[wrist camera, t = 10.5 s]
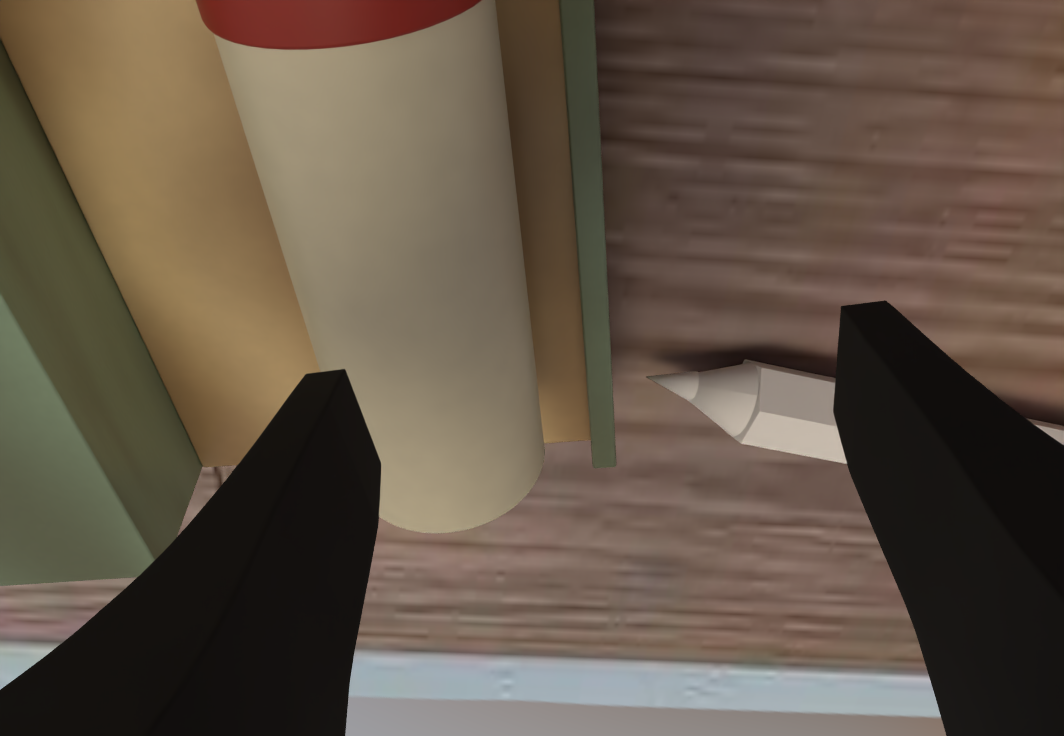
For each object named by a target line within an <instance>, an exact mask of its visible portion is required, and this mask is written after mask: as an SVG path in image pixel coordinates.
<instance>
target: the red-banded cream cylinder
mask: <svg viewBox="0 0 1064 736" xmlns="http://www.w3.org/2000/svg"><path fill="white" fill-rule="evenodd" d="M196 3H197V6H198V9H199V12H200V15H201V19H202V20H203V22H204V24H205V25H206V27H207V28H208V29H209V30H210V31H211V32H213V34H214V37H215V40H216V43H217V46H218V50H219V53H220V56H221V59H222V62H223V65H224V69H225V72H226V75H227V78H228V81H229V84H230V88H231V91H232V94H233V97H234V100H235V103H236V107H237V110H238V113H239V116H240V119H241V122H242V125H243V129H244V132H245V135H246V138H247V141H248V144H249V148H250V151H251V154H252V157H253V160H254V163H255V167H256V170H257V173H258V176H259V179H260V182H261V186H262V189H263V192H264V195H265V198H266V201H267V205H268V208H269V211H270V214H271V217H272V220H273V224H274V227H275V230H276V233H277V236H278V239H279V243H280V246H281V249H282V252H283V255H284V258H285V261H286V265H287V268H288V271H289V274H290V277H291V280H292V284H293V287H294V290H295V293H296V296H297V299H298V303H299V306H300V309H301V312H302V315H303V318H304V322H305V325H306V328H307V331H308V334H309V337H310V341H311V344H312V347H313V350H314V353H315V356H316V360H317V363H318V366H319V369H320V372H324V371H332V370H340V369H345V370H346V372H347V375H348V377H349V380H350V383H351V385H352V388H353V391H354V393H355V396H356V398H357V401H358V404H359V406H360V409H361V412H362V414H363V417H364V419H365V422H366V425H367V427H368V430H369V432H370V435H371V438H372V440H373V443H374V446H375V448H376V451H377V453H378V456H379V459H380V461H381V487H380V506H379V517H381V518H382V519H384V520H385V521H387V522H389V523H391V524H393V525H395V526H398V527H401V528H403V529H407V530H411V531H415V532H423V533H450V532H458V531H463V530H468V529H471V528H474V527H478V526H481V525H483V524H486V523H488V522H490V521H493V520H495V519H496V518H498V517H500V516H502V515H504V514H505V513H507V512H508V511H509V510H511V509H512V508H514V507H515V506H516V505H517V504H518V503H519V502H520V501H522V500H523V499H524V497H525V496H526V495H527V494H528V493H529V492H530V491H531V489H532V487H533V486H534V484H535V483H536V481H537V479H538V477H539V475H540V473H541V470H542V466H543V463H544V455H545V449H544V438H543V429H542V420H541V411H540V402H539V393H538V384H537V375H536V366H535V357H534V348H533V339H532V330H531V320H530V311H529V302H528V293H527V284H526V275H525V266H524V257H523V248H522V239H521V230H520V221H519V212H518V203H517V194H516V185H515V175H514V166H513V157H512V148H511V139H510V130H509V121H508V112H507V103H506V94H505V85H504V76H503V67H502V58H501V49H500V40H499V30H498V21H497V12H496V3H495V0H196Z"/></svg>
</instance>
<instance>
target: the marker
mask: <svg viewBox="0 0 1064 736" xmlns="http://www.w3.org/2000/svg"><path fill="white" fill-rule="evenodd" d="M647 378H649V379H651V380H652V381H654V382H656V383H658V384H660V385H661V386H663V387H665V388H667V389H668V390H670V391H672V392H674V393H675V394H677V395H679V396H681V397H683V398H684V399H686V400H688V401H689V402H691V403H692V404H693V405H694V406H695V407H697V408H698V409H699V410H700V411H702V412H703V413H704V414H705V415H707V416H708V417H709V418H710V419H711V420H713V421H714V422H715V423H716V424H718V425H719V426H720V427H721V428H722V429H724V430H725V432H727V433H728V434H729V435H730V436H732V437H733V438H734V439H736V440H737V441H738V442H740V443H741V444H746V445H752V446H757V447H762V448H767V449H772V450H778V451H783V452H788V453H793V454H798V455H804V456H809V457H814V458H819V459H824V460H830V461H835V462H840V463H845V464H847V461H846V458H845V454H844V451H843V447H842V444H841V440H840V436H839V432H838V429H837V425H836V421H835V417H834V413H833V405H834V393H835V380H836V378H832V377H828V376H823V375H818V374H813V373H808V372H804V371H799V370H794V369H789V368H785V367H780V366H775V365H770V364H765V363H761V362H756V361H751V360H746V359H745V360H744V361H743V363H742V364H741V365H735V366H730V367H725V368H719V369H714V370H709V371H703V372H697V371H692V372H683V373H674V374H665V375H656V376H647ZM1026 419H1027V420H1029V421H1030V422H1032V423H1033V424H1034V425H1036V426H1037V427H1038V428H1040V429H1041V430H1043V431H1044V432H1045V433H1047V434H1048V435H1050V436H1051V437H1052V438H1054V439H1055V440H1057V441H1058V442H1060V443H1061V444H1063V445H1064V426H1062V425H1057V424H1052V423H1047V422H1042V421H1038V420H1033V419H1028V418H1026Z"/></svg>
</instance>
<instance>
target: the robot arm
mask: <svg viewBox="0 0 1064 736" xmlns="http://www.w3.org/2000/svg"><path fill="white" fill-rule="evenodd" d="M833 413H834V417H835V421H836V425H837V429H838V432H839V436H840V440H841V444H842V447H843V451H844V454H845V458H846V461H847V465H848V468H849V472H850V474H851V477H852V479H853V482H854V484H855V487H856V489H857V492H858V494H859V496H860V499H861V501H862V503H863V506H864V508H865V511H866V513H867V515H868V518H869V520H870V522H871V525H872V527H873V529H874V532H875V534H876V537H877V539H878V541H879V544H880V546H881V548H882V551H883V553H884V555H885V558H886V560H887V562H888V565H889V567H890V569H891V572H892V574H893V576H894V579H895V581H896V583H897V586H898V588H899V590H900V593H901V595H902V597H903V600H904V602H905V605H906V607H907V610H908V613H909V615H910V618H911V621H912V623H913V626H914V629H915V631H916V634H917V638H918V641H919V644H920V648H921V651H922V654H923V657H924V661H925V664H926V667H927V670H928V674H929V677H930V680H931V684H932V687H933V690H934V693H935V697H936V700H937V704H938V707H939V711H940V714H941V718H942V721H943V724H944V728H945V732H946V735H947V736H1064V445H1063V444H1061V443H1060V442H1058V441H1057V440H1055V439H1054V438H1052V437H1051V436H1050V435H1048V434H1047V433H1045V432H1044V431H1043V430H1041V429H1040V428H1038V427H1037V426H1036V425H1034V424H1033V423H1032V422H1030V421H1029V420H1027V419H1026V418H1025V417H1023V416H1022V415H1020V414H1019V413H1018V412H1016V411H1015V410H1014V409H1012V408H1011V407H1010V406H1009V405H1007V404H1006V403H1005V402H1003V401H1002V400H1001V399H1000V398H998V397H997V396H996V395H995V394H993V393H992V392H991V391H990V390H988V389H987V388H986V387H985V386H984V385H982V384H981V383H980V382H979V381H977V380H976V379H975V378H974V377H973V376H971V375H970V374H969V373H968V372H966V371H965V370H964V369H963V368H962V367H961V366H959V365H958V364H957V363H956V362H955V361H954V360H952V359H951V358H950V357H949V356H948V355H947V354H946V353H944V352H943V351H942V350H941V349H940V348H939V347H938V346H936V345H935V344H934V343H933V342H932V341H931V340H930V339H929V338H927V337H926V336H925V335H924V334H923V333H922V332H921V331H920V330H919V329H917V328H916V327H915V326H914V325H913V324H912V323H911V322H910V321H909V320H907V319H906V318H905V317H904V316H903V315H902V314H901V313H900V312H899V311H897V310H896V309H895V308H894V307H893V306H892V305H890V304H889V303H888V302H887V301H878V302H870V303H863V304H855V305H847V306H841V315H840V328H839V341H838V354H837V367H836V380H835V393H834V405H833ZM380 487H381V461H380V459H379V456H378V453H377V451H376V448H375V446H374V443H373V440H372V438H371V435H370V432H369V430H368V427H367V425H366V422H365V419H364V417H363V414H362V412H361V409H360V406H359V404H358V401H357V398H356V396H355V393H354V391H353V388H352V385H351V383H350V380H349V377H348V375H347V372H346V370H345V369H340V370H332V371H324V372H316V373H308V374H305V376H304V377H303V378H302V379H301V381H300V382H299V383H298V385H297V386H296V387H295V389H294V390H293V391H292V393H291V394H290V395H289V397H288V398H287V399H286V401H285V402H284V404H283V405H282V406H281V408H280V409H279V410H278V412H277V413H276V414H275V416H274V417H273V419H272V420H271V421H270V423H269V424H268V425H267V427H266V428H265V430H264V431H263V432H262V434H261V435H260V436H259V438H258V439H257V440H256V442H255V443H254V444H253V446H252V447H251V448H250V450H249V451H248V452H247V454H246V455H245V456H244V457H243V459H242V460H241V461H240V463H239V464H238V465H237V467H236V468H235V469H234V471H233V472H232V473H231V474H230V476H229V477H228V478H227V480H226V481H225V482H224V483H223V484H222V486H221V487H220V488H219V489H218V490H217V492H216V493H215V494H214V495H213V496H212V498H211V499H210V500H209V501H208V502H207V503H206V505H205V506H204V507H203V508H202V509H201V511H200V512H199V513H198V514H197V515H196V517H195V518H194V519H193V520H192V521H191V522H190V524H189V525H188V526H187V527H186V528H185V529H184V530H183V531H182V532H181V534H180V535H179V536H178V537H177V538H176V539H175V540H174V541H173V542H172V543H171V544H170V545H169V546H168V547H167V548H166V549H165V551H164V552H163V553H162V554H161V555H160V556H159V557H158V558H157V559H155V560H154V561H153V562H152V563H151V564H150V565H149V566H148V567H147V568H146V569H145V570H144V571H143V572H142V573H141V574H140V575H139V576H138V577H137V578H136V579H135V580H134V581H133V582H132V583H131V584H130V585H129V586H128V587H127V588H126V589H124V590H123V591H122V592H121V593H120V594H119V595H118V596H116V597H115V598H114V599H113V600H112V601H111V602H110V603H108V604H107V605H106V606H105V607H104V608H103V609H102V610H100V611H99V612H98V613H97V614H96V615H95V616H94V617H93V618H91V619H90V620H89V621H88V622H87V623H86V624H85V625H83V626H82V627H81V628H80V629H79V630H78V631H76V632H75V633H74V634H73V635H72V636H70V637H69V638H68V639H67V640H65V641H64V642H63V643H62V644H60V645H59V646H58V647H57V648H55V649H54V650H53V651H51V652H50V653H49V654H48V655H46V656H45V657H44V658H43V659H41V660H40V661H39V662H37V663H36V664H35V665H33V666H32V667H31V668H29V669H28V670H27V671H25V672H24V673H23V674H21V675H20V676H18V677H17V678H16V679H14V680H13V681H12V682H10V683H9V684H8V685H6V686H5V687H3V688H2V689H1V690H0V736H345V730H346V718H347V706H348V694H349V683H350V676H351V670H352V663H353V656H354V651H355V645H356V640H357V635H358V630H359V625H360V619H361V614H362V609H363V604H364V599H365V593H366V588H367V583H368V578H369V573H370V567H371V562H372V557H373V551H374V546H375V540H376V535H377V529H378V521H379V506H380Z"/></svg>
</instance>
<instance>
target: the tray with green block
mask: <svg viewBox="0 0 1064 736" xmlns="http://www.w3.org/2000/svg"><path fill="white" fill-rule="evenodd" d="M495 3H496V12H497V21H498V30H499V40H500V49H501V58H502V67H503V76H504V85H505V94H506V103H507V112H508V121H509V130H510V139H511V148H512V157H513V166H514V175H515V185H516V194H517V203H518V212H519V221H520V230H521V239H522V248H523V257H524V266H525V275H526V284H527V293H528V302H529V311H530V320H531V330H532V339H533V348H534V357H535V366H536V375H537V384H538V393H539V402H540V411H541V420H542V429H543V438H544V443H556V442H570V441H584V440H591V451H592V464H593V467H594V468H607V467H615V466H616V446H615V425H614V404H613V384H612V363H611V342H610V321H609V301H608V280H607V259H606V238H605V218H604V197H603V176H602V155H601V135H600V114H599V93H598V72H597V52H596V31H595V10H594V0H495ZM316 372H320V369H319V366H318V363H317V360H316V356H315V353H314V350H313V347H312V344H311V341H310V337H309V334H308V331H307V328H306V325H305V322H304V318H303V315H302V312H301V309H300V306H299V303H298V299H297V296H296V293H295V290H294V287H293V284H292V280H291V277H290V274H289V271H288V268H287V265H286V261H285V258H284V255H283V252H282V249H281V246H280V243H279V239H278V236H277V233H276V230H275V227H274V224H273V220H272V217H271V214H270V211H269V208H268V205H267V201H266V198H265V195H264V192H263V189H262V186H261V182H260V179H259V176H258V173H257V170H256V167H255V163H254V160H253V157H252V154H251V151H250V148H249V144H248V141H247V138H246V135H245V132H244V129H243V125H242V122H241V119H240V116H239V113H238V110H237V107H236V103H235V100H234V97H233V94H232V91H231V88H230V84H229V81H228V78H227V75H226V72H225V69H224V65H223V62H222V59H221V56H220V53H219V50H218V46H217V43H216V40H215V37H214V34H213V32H211V31H210V30H209V29H208V28H207V27H206V25H205V24H204V22H203V20H202V19H201V15H200V12H199V9H198V6H197V3H196V0H0V586H7V585H23V584H38V583H54V582H69V581H85V580H101V579H116V578H132V577H138V576H139V575H140V574H141V573H142V572H143V571H144V570H145V569H146V568H147V567H148V566H149V565H150V564H151V563H152V562H153V561H154V560H155V559H157V558H158V557H159V556H160V555H161V554H162V553H163V552H164V551H165V549H166V548H167V547H168V546H169V545H170V544H171V543H172V542H173V541H174V540H175V539H176V538H177V535H178V532H179V529H180V527H181V524H182V521H183V518H184V516H185V513H186V510H187V507H188V505H189V502H190V499H191V496H192V494H193V491H194V488H195V485H196V483H197V480H198V477H199V475H200V472H201V469H202V466H203V467H218V466H232V465H238V464H239V463H240V461H241V460H242V459H243V457H244V456H245V455H246V454H247V452H248V451H249V450H250V448H251V447H252V446H253V444H254V443H255V442H256V440H257V439H258V438H259V436H260V435H261V434H262V432H263V431H264V430H265V428H266V427H267V425H268V424H269V423H270V421H271V420H272V419H273V417H274V416H275V414H276V413H277V412H278V410H279V409H280V408H281V406H282V405H283V404H284V402H285V401H286V399H287V398H288V397H289V395H290V394H291V393H292V391H293V390H294V389H295V387H296V386H297V385H298V383H299V382H300V381H301V379H302V378H303V377H304V376H305V374H308V373H316Z"/></svg>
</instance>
